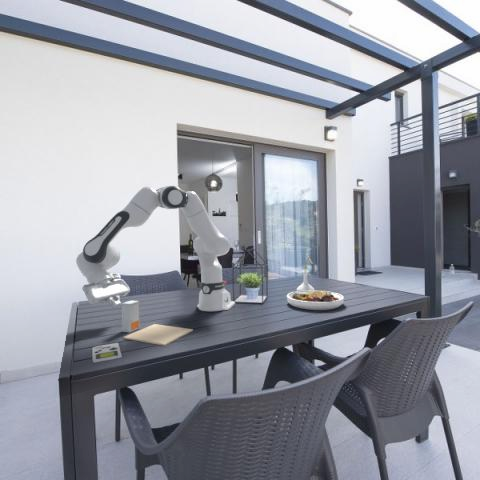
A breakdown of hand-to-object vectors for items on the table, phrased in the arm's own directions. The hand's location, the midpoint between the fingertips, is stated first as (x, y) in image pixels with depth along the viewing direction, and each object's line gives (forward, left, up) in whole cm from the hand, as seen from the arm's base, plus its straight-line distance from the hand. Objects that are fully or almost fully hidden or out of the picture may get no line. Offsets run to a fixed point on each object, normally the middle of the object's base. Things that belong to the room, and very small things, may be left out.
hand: (118, 305), depth 136 cm
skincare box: (0, +7, -10) cm, 12 cm away
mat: (0, +22, -10) cm, 24 cm away
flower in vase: (-102, +57, -10) cm, 117 cm away
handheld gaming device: (+22, +17, -10) cm, 29 cm away
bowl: (-72, +69, -10) cm, 100 cm away
